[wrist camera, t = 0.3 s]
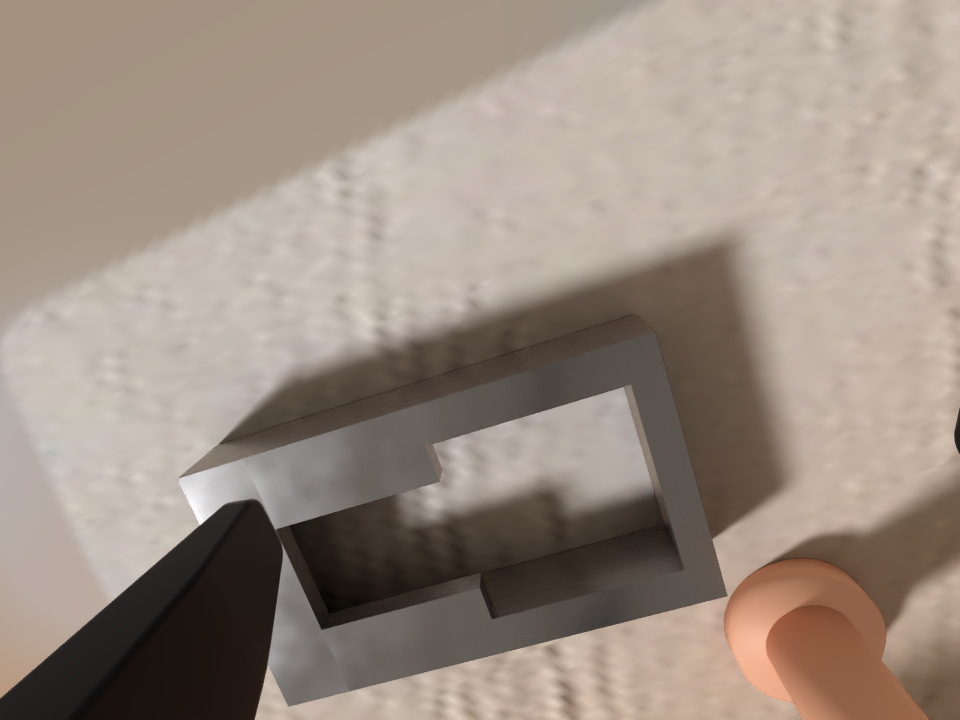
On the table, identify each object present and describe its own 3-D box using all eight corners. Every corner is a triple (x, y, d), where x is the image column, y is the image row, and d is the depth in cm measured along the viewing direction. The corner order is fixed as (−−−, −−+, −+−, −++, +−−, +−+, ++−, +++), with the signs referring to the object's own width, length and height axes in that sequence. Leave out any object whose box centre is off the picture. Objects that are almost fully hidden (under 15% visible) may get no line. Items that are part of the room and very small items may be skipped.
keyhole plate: (635, 313, 24) (655, 331, 21) (700, 547, 26) (727, 596, 23) (218, 444, 26) (177, 479, 23) (313, 649, 28) (288, 706, 25)
